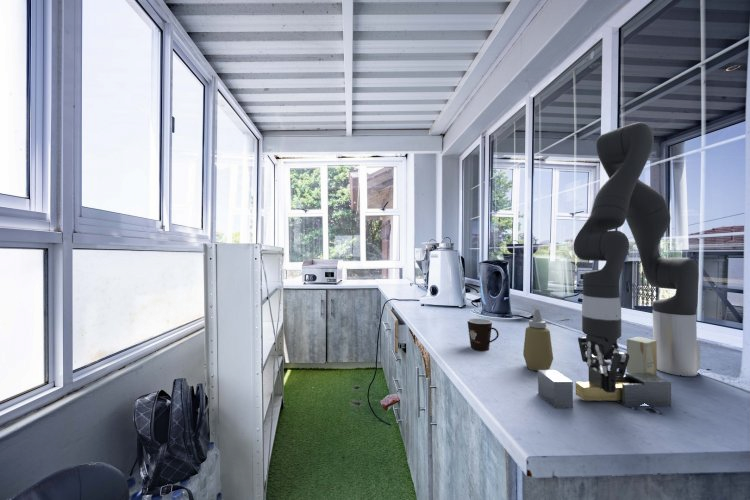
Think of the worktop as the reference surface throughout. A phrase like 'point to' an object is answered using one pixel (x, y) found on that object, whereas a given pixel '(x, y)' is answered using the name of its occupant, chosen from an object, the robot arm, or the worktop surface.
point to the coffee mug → (480, 333)
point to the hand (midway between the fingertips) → (601, 386)
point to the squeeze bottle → (537, 344)
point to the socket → (555, 388)
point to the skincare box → (642, 355)
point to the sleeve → (644, 390)
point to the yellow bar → (597, 387)
